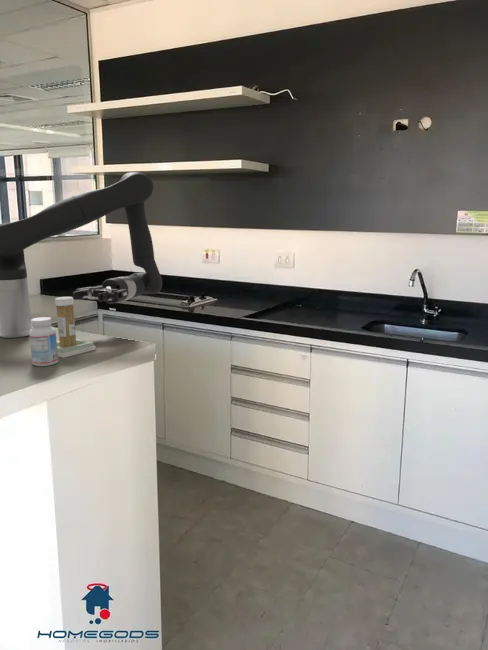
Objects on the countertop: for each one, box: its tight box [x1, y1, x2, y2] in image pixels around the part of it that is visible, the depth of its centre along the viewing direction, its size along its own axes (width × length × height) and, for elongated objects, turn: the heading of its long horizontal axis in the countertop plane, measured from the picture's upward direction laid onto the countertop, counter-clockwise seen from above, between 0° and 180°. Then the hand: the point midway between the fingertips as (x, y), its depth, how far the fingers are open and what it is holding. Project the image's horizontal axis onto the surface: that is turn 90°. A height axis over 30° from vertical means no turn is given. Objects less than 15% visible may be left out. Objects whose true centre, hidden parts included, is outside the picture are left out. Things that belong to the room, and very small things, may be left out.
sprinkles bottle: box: [54, 296, 77, 348], centre depth 145 cm, size 5×5×14 cm
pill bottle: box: [28, 316, 59, 367], centre depth 134 cm, size 6×6×11 cm
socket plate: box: [56, 338, 97, 358], centre depth 147 cm, size 10×10×2 cm
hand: (86, 296), depth 154 cm, fingers open, 8 cm apart
